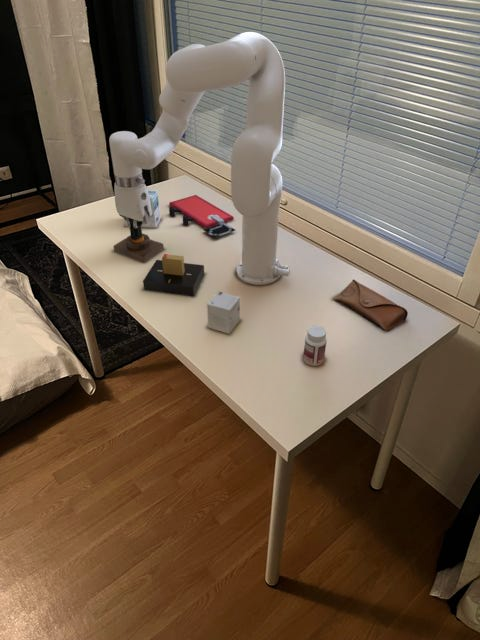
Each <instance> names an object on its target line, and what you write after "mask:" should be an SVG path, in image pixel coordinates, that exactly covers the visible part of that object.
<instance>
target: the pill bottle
mask: <svg viewBox="0 0 480 640" xmlns="http://www.w3.org/2000/svg"><path fill="white" fill-rule="evenodd" d="M327 340H328V339H327V330H326V328H325V327H323V326H320V325H312V326H309V327H308V329H307V334H306V335H305V338H304V346H303V348H304V349H303V356H302V357H303V361H304V362H305V363H306V364H307V365H309V366H313V367H315V366H320V365H322V364H323V363H324V361H325V354H326V348H327V342H328V341H327Z"/></svg>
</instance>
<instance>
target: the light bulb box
mask: <svg viewBox="0 0 480 640" xmlns="http://www.w3.org/2000/svg"><path fill="white" fill-rule="evenodd" d="M147 190H148V194H149V198H150V203H151V209H152V215H151V216H148V218H149V221H150V223H148V224H147V225H141V228H150V229H151V228H153V229H157V227H158V225H159V223H160V222H161V219H162V217H161V210H160V201H159V193H158V189H148V188H147ZM123 220H124V226H125V227H129V226H128V225H127V221H126V220H125V219H124V218H123Z"/></svg>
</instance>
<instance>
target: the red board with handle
mask: <svg viewBox="0 0 480 640" xmlns="http://www.w3.org/2000/svg"><path fill="white" fill-rule="evenodd" d="M168 204H169V206H170V207H168V212H169V216H170V217H172V218H174V217H176V213H178V214H179V213H181V214H182V225H184V226H185V227H189V222H195V223H197V224H198V225H200V226H201V227H203V228H204V229H203V231H204V232H205V233H206V234H208V235H210V236H212V237H213V238H218V237H220V236H224V235H227V234H229V233H233V232H235V231H236V229H235V228H233V227H232V226H230V225H228V224H227V222H230V221H234V218H235V217H234V216H233V215H231V214H230V213H229V212H226V211H224V210H223V209H221V208H219V207H218V206H216V205H214V204H213V203H211V202H209V201H207V200H206V199H204V198H203V197H200V196H198V195H197V194H194V195H191V196H187V197H184V198H180V199H176V200H173V201H169V203H168Z"/></svg>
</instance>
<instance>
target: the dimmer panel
mask: <svg viewBox="0 0 480 640" xmlns="http://www.w3.org/2000/svg"><path fill="white" fill-rule="evenodd" d="M184 268H185V272H184V274H183V276H180V275H172V274H164V273H163V264H162V259H156V260H155V261H154V263H153V265H152V266H151V267H150V269H149V271H148V272H147V273H146V276H145V277H144V278H143V280H142V284H143V290H144V291H150V292H158V293H165V294H173V295H181V296H189V297H195V295H196V293H197V291H198V288H199V286H200V284H201V282H202V280H203V278H204V276H205V265H204V264H198V263H197V264H195V263H188V262H184Z"/></svg>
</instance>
